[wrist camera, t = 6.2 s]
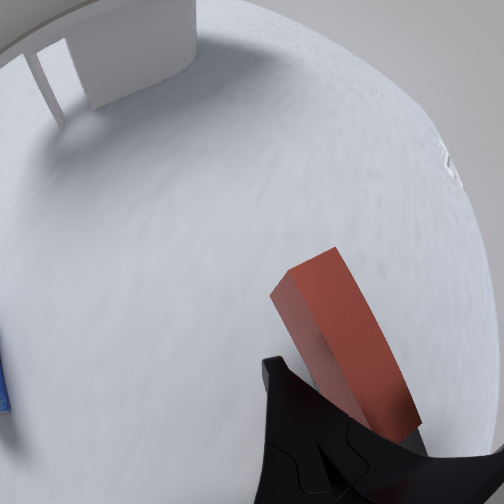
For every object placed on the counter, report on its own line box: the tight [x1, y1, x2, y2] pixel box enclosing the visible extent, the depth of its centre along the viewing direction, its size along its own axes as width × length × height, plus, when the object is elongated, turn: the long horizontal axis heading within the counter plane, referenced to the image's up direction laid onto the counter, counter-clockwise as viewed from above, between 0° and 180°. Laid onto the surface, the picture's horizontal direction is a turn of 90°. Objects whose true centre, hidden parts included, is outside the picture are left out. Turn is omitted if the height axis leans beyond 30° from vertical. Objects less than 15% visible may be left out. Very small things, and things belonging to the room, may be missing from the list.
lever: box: [270, 247, 428, 456], centre depth 7 cm, size 3×13×4 cm, turn 27°
